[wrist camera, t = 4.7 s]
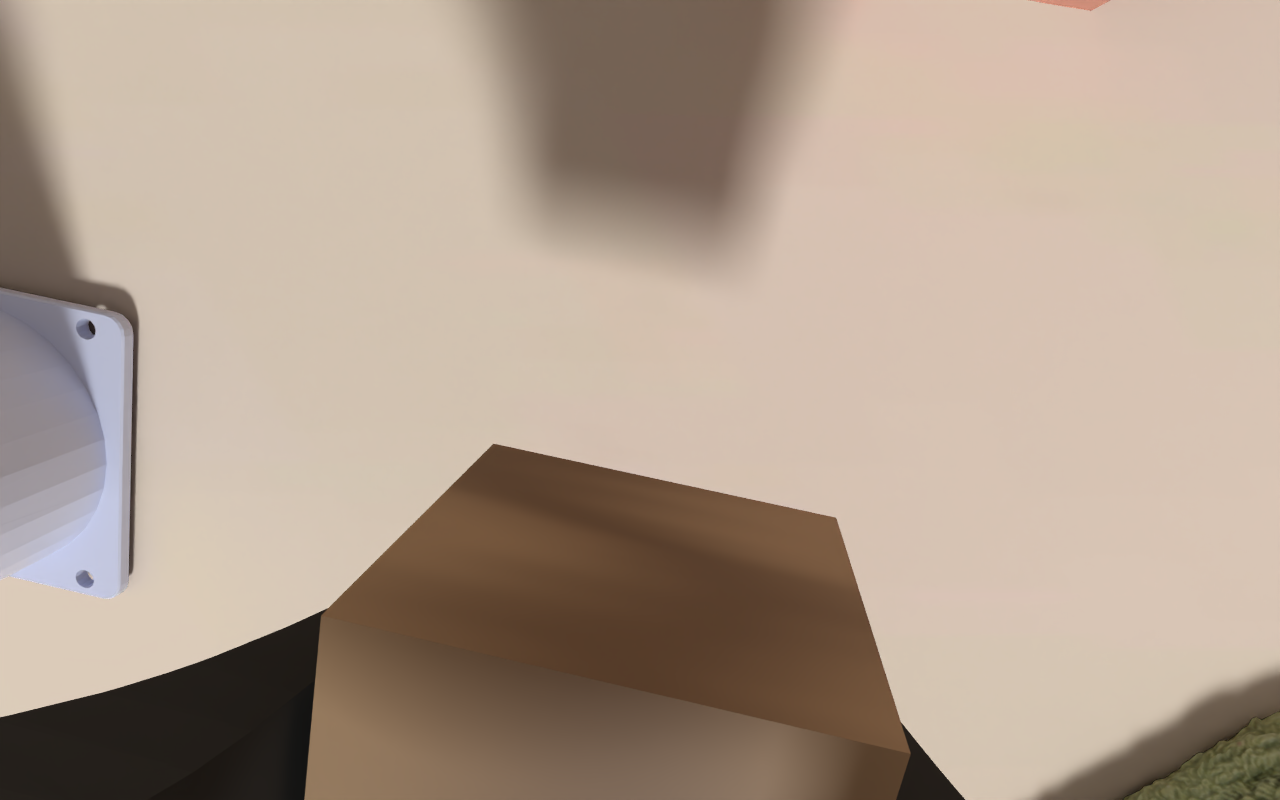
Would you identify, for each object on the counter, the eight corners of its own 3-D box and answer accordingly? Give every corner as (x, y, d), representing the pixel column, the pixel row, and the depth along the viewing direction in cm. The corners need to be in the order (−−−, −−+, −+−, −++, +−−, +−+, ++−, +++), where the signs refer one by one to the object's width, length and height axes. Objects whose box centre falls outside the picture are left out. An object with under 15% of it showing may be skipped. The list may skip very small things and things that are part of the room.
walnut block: (451, 734, 13) (281, 1051, 8) (493, 443, 12) (321, 614, 7) (758, 808, 13) (771, 1187, 8) (836, 517, 11) (910, 753, 6)
